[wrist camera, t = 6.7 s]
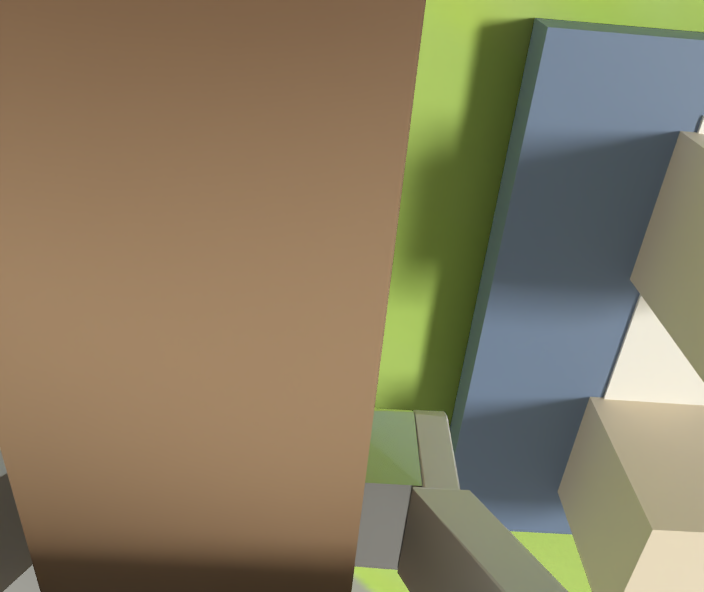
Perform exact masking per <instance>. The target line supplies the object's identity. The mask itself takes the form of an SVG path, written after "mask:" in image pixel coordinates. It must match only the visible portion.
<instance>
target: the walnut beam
mask: <svg viewBox="0 0 704 592" xmlns="http://www.w3.org/2000/svg"><path fill="white" fill-rule="evenodd" d="M425 3H426V0H0V449H1V453H2V457H3V460H4V464H5V467H6V471H7V474H8V478H9V481H10V485H11V489H12V492H13V496H14V499H15V503H16V506H17V510H18V513H19V517H20V520H21V524H22V528H23V531H24V535H25V538H26V542H27V545H28V549H29V552H30V556H31V560H32V563H33V567H34V570H35V574H36V577H37V581H38V584H39V588H40V591H41V592H351V590H352V582H353V574H354V566H355V558H356V550H357V542H358V534H359V526H360V518H361V511H362V503H363V495H364V487H365V479H366V471H367V463H368V455H369V447H370V439H371V431H372V423H373V415H374V407H375V399H376V392H377V384H378V376H379V368H380V360H381V352H382V344H383V336H384V328H385V320H386V312H387V304H388V296H389V288H390V281H391V273H392V265H393V257H394V249H395V241H396V233H397V225H398V217H399V209H400V201H401V193H402V185H403V177H404V170H405V162H406V154H407V146H408V138H409V130H410V122H411V114H412V106H413V98H414V90H415V82H416V74H417V66H418V59H419V51H420V43H421V35H422V27H423V19H424V11H425Z"/></svg>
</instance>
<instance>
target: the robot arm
mask: <svg viewBox="0 0 704 592" xmlns="http://www.w3.org/2000/svg"><path fill="white" fill-rule="evenodd" d="M32 564H33V563H32V560H31V556H30V552H29V549H28V545H27V542H26V538H25V535H24V531H23V528H22V524H21V520H20V517H19V513H18V510H17V506H16V503H15V499H14V496H13V492H12V489H11V485H10V481H9V478H8V474H7V471H6V467H5V464H4V460H3V457H2V453H1V449H0V592H3V591H4V590H5V589H6V588H7V587H8V586H9V585H11V584H12V583H13V582H14V581H15V580H16V579H17V578H18V577H19V576H20V575H21V574H23V573H24V572H25V571H26V570H27V569H28V568H29V567H30V566H31V565H32ZM355 566H357V567H369V568H382V569H395V570H398V574H399V576H400V577H401V579H402V580H403V582H404V583H405V585H406V587H407V588H408V590H409V591H410V592H568V591H567V590H566V589H565V588H564V587H563V586H562V585H561V584H560V583H559V582H558V581H557V580H556V579H555V578H554V577H553V576H552V575H551V574H550V572H549V571H548V570H547V569H546V568H545V567H544V566H543V565H542V564H541V563H540V562H539V561H538V560H537V559H536V558H535V557H534V556H533V555H532V554H531V553H530V552H529V551H528V550H527V549H526V548H525V547H524V546H523V545H522V544H521V543H520V542H519V541H518V540H517V538H516V537H515V536H514V535H513V534H512V533H511V532H510V531H509V530H508V529H507V528H506V527H505V526H504V525H503V524H502V523H501V522H500V521H499V520H498V519H497V518H496V517H495V516H494V515H493V514H492V513H491V512H490V511H489V510H488V509H487V508H486V507H485V506H484V504H483V503H482V502H481V501H480V500H479V499H478V498H477V497H476V496H475V495H474V494H473V493H472V492H471V491H470V490H460V485H459V480H458V474H457V468H456V463H455V457H454V451H453V446H452V440H451V434H450V429H449V423H448V417H447V415H446V413H445V412H444V411H427V410H413V411H412V410H395V409H377V408H374V415H373V423H372V431H371V439H370V447H369V455H368V463H367V471H366V479H365V487H364V495H363V503H362V511H361V518H360V526H359V534H358V542H357V550H356V558H355Z"/></svg>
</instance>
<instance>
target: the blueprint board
mask: <svg viewBox="0 0 704 592" xmlns="http://www.w3.org/2000/svg"><path fill="white" fill-rule="evenodd" d="M450 434H451V440H452V446H453V451H454V457H455V463H456V468H457V474H458V480H459V485H460V490H470V491H471V492H472V493H473V494H474V495H475V496H476V497H477V498H478V499H479V500H480V501H481V502H482V503H483V504H484V506H485V507H486V508H487V509H488V510H489V511H490V512H491V513H492V514H493V515H494V516H495V517H496V518H497V519H498V520H499V521H500V522H501V523H502V524H503V525H504V526H505V527H506V528H507V529H508V530H509V531H520V532H539V533H558V534H572V535H573V538H574V541H575V544H576V547H577V550H578V553H579V555H580V558H581V561H582V564H583V567H584V570H585V573H586V576H587V579H588V582H589V584H590V587H591V590H592V592H704V32H692V31H681V30H669V29H657V28H646V27H634V26H622V25H611V24H599V23H588V22H576V21H564V20H553V19H541V18H535V20H534V25H533V30H532V34H531V39H530V44H529V49H528V54H527V59H526V63H525V68H524V73H523V78H522V83H521V88H520V92H519V97H518V102H517V107H516V112H515V117H514V121H513V126H512V131H511V136H510V141H509V146H508V150H507V155H506V160H505V165H504V170H503V175H502V179H501V184H500V189H499V194H498V199H497V204H496V208H495V213H494V218H493V223H492V228H491V233H490V237H489V242H488V247H487V252H486V257H485V262H484V266H483V271H482V276H481V281H480V286H479V291H478V295H477V300H476V305H475V310H474V315H473V320H472V324H471V329H470V334H469V339H468V344H467V349H466V353H465V358H464V363H463V368H462V373H461V378H460V383H459V387H458V392H457V397H456V402H455V407H454V412H453V416H452V421H451V426H450Z"/></svg>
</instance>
